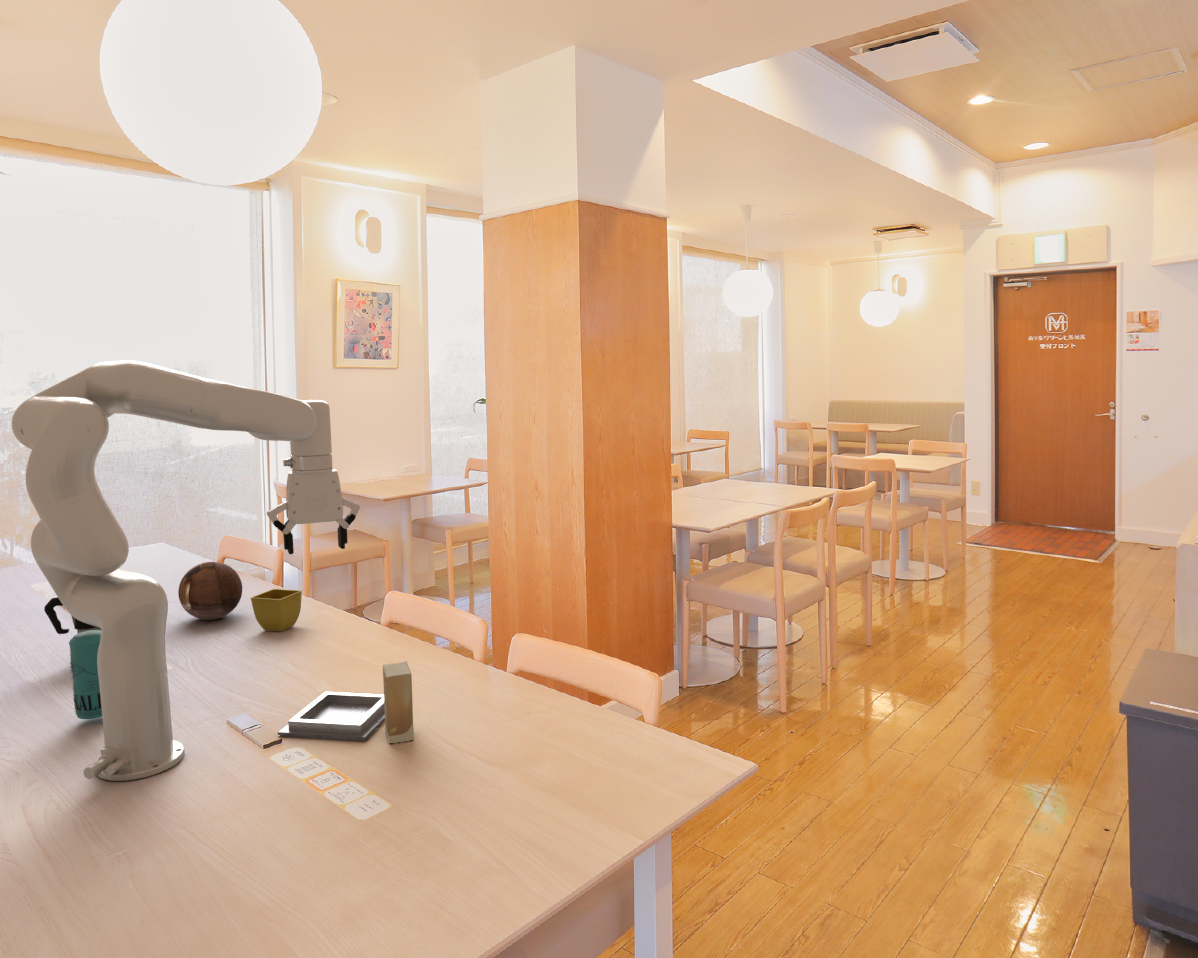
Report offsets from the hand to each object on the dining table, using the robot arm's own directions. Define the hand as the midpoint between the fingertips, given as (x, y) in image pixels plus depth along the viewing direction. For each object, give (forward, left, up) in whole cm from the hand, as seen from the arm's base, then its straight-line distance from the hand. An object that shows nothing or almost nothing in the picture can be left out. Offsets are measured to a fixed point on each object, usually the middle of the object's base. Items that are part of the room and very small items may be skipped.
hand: (316, 550), depth 158 cm
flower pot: (+35, +30, -29) cm, 55 cm away
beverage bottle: (-20, +34, -29) cm, 49 cm away
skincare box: (-19, -24, -29) cm, 42 cm away
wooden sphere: (+41, +52, -29) cm, 72 cm away
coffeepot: (+8, +59, -29) cm, 66 cm away
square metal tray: (-14, -11, -28) cm, 33 cm away
